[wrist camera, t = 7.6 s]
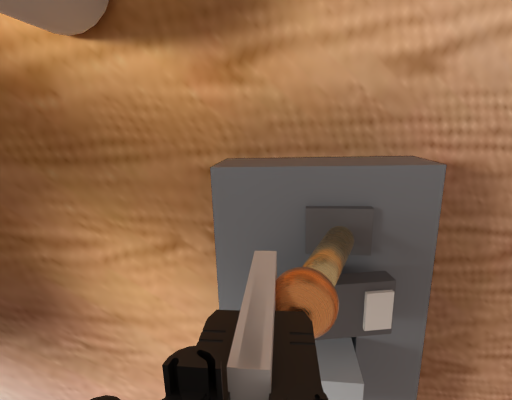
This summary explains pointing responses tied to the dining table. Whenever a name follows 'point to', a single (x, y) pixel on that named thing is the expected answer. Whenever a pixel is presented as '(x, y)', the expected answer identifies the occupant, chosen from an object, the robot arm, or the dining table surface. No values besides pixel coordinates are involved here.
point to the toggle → (316, 281)
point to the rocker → (363, 305)
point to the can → (56, 14)
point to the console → (326, 217)
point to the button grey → (339, 369)
